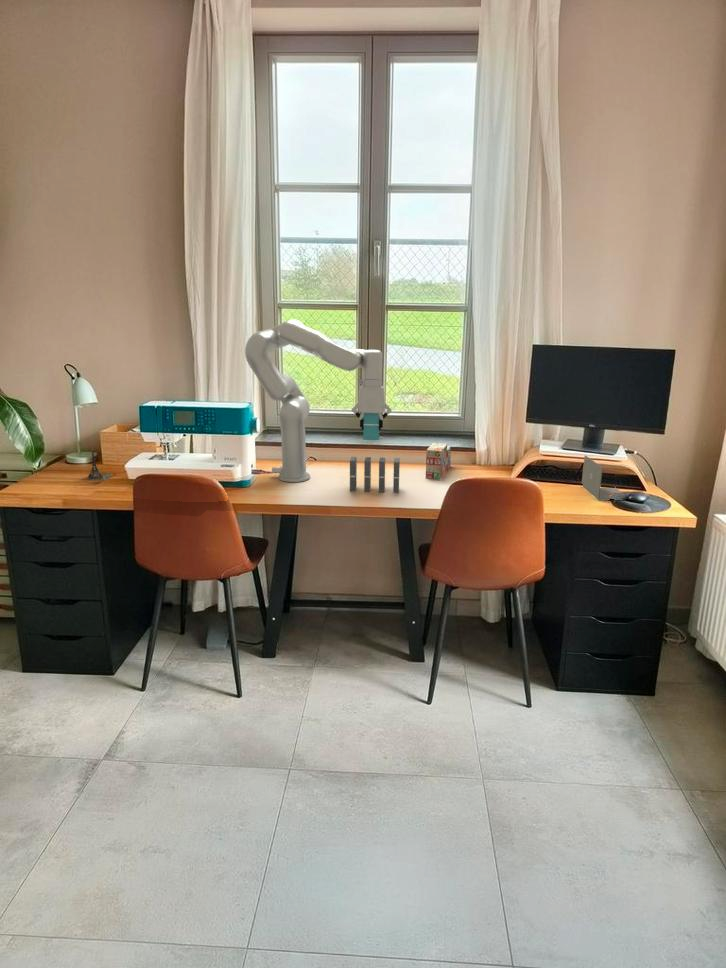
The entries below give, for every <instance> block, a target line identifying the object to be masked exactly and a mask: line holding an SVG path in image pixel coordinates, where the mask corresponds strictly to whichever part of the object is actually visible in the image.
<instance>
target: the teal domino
mask: <svg viewBox="0 0 726 968" xmlns="http://www.w3.org/2000/svg"><path fill="white" fill-rule="evenodd" d="M363 418H364V430H362V431H363V434H362V435H363V437H362V438H363V439H362V440H363V441H364V440H365V441H379V440H380V430H379V419H380V417H379V415H378V414H377V413H364V416H363Z"/></svg>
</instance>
